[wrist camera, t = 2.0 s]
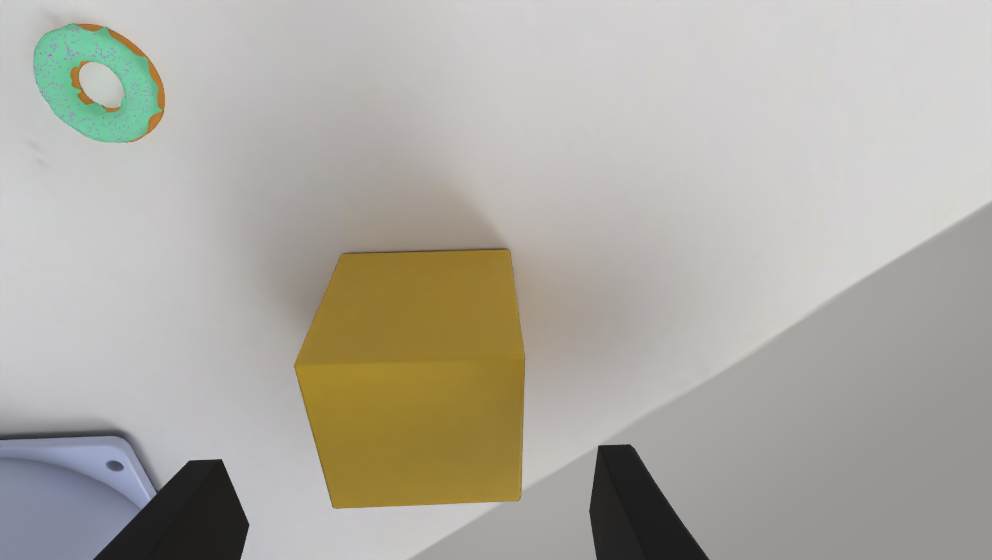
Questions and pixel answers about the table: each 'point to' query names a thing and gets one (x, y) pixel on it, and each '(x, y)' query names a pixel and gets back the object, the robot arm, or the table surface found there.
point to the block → (417, 379)
